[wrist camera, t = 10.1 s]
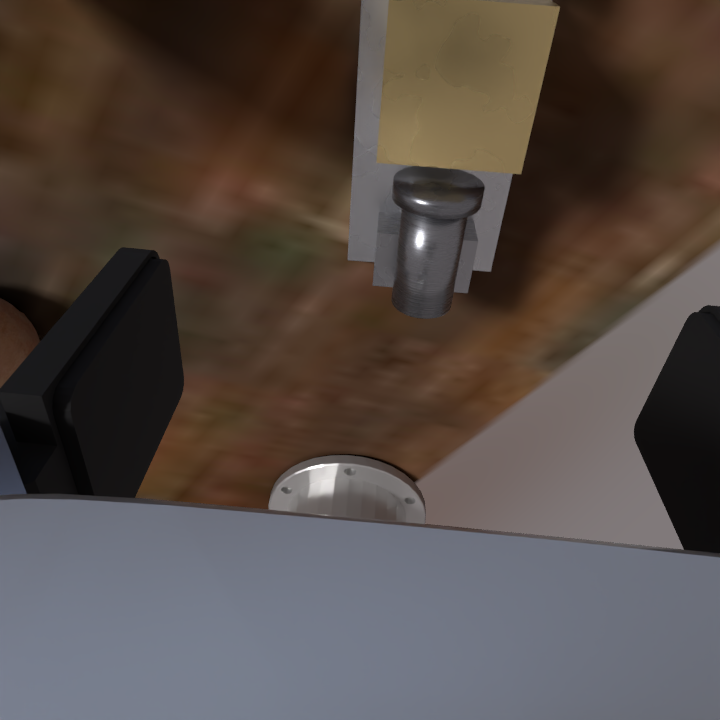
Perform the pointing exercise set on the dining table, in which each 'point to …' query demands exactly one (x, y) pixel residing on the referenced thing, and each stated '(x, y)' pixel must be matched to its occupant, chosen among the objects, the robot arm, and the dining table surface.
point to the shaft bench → (415, 202)
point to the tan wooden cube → (463, 82)
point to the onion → (14, 339)
